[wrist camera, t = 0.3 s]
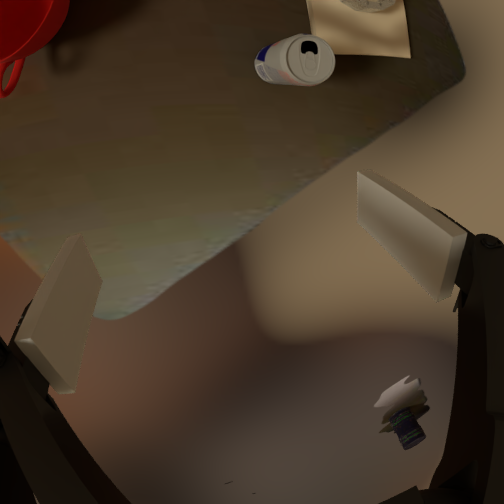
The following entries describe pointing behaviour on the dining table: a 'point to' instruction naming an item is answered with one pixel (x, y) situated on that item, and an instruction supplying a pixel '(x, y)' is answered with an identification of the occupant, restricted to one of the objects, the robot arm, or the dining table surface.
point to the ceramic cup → (26, 32)
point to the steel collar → (368, 5)
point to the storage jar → (407, 428)
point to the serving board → (360, 28)
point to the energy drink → (296, 61)
